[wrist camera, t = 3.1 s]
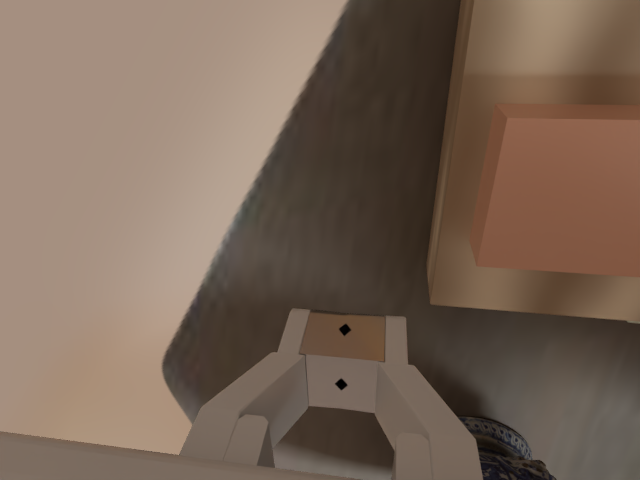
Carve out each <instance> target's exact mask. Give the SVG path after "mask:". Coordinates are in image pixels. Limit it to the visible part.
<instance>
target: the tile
mask: <svg viewBox="0 0 640 480" xmlns="http://www.w3.org/2000/svg"><path fill="white" fill-rule="evenodd" d="M469 241H470V245H471V248H472V252H473V256H474V259H475V263H476V266H478V267H493V268H508V269H523V270H538V271H552V272H567V273H582V274H597V275H612V276H627V277H640V105H582V104H495V106H494V112H493V117H492V122H491V127H490V133H489V138H488V143H487V149H486V154H485V159H484V165H483V170H482V175H481V181H480V186H479V191H478V197H477V202H476V207H475V212H474V218H473V223H472V228H471V234H470V239H469Z"/></svg>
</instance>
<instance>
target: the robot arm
mask: <svg viewBox="0 0 640 480" xmlns="http://www.w3.org/2000/svg"><path fill="white" fill-rule="evenodd" d="M308 406H317V407H329V408H341V409H348V410H355V411H363V412H370V413H375V416H376V418H377V420H378V422H379V424H380V425H381V427H382V429H383V431H384V433H385V435H386V437H387V438H388V440H389V442H390V444H391V446H392V448H393V449H394V451H395V453H394V461H393V470H392V478H391V480H483V476H482V470H481V465H480V460H479V454H478V449H477V443H476V439H475V438H474V437H473V436H472V434H471V433H470V432H469V431H468V430H467V428H466V427H465V426H464V425H463V424H462V422H461V421H460V420H459V419H458V418H457V416H456V415H455V414H454V413H453V412H452V410H451V409H450V408H449V407H448V406H447V404H446V403H445V402H444V401H443V400H442V398H441V397H440V396H439V395H438V393H437V392H436V391H435V390H434V389H433V387H432V386H431V385H430V384H429V383H428V381H427V380H426V379H425V378H424V377H423V375H422V374H421V373H420V372H419V371H418V369H417V368H416V367H415V366H414V365H408V350H407V329H406V318H405V317H403V316H381V315H367V314H353V313H341V312H331V311H321V310H312V309H311V310H308V309H298V308H292V310H291V311H290V313H289V316H288V320H287V323H286V326H285V329H284V332H283V335H282V339H281V342H280V345H279V348H278V351H277V352H271V353H270V354H269V355H267V356H266V357H265V358H263V359H262V360H261V361H260V362H258V363H257V364H256V365H254V366H253V367H252V368H251V369H249V370H248V371H247V372H245V373H244V374H243V375H242V376H240V377H239V378H238V379H236V380H235V381H234V382H233V383H231V384H230V385H229V386H227V387H226V388H225V389H224V390H222V391H221V392H220V393H218V394H217V395H216V396H215V397H213V398H212V399H211V400H209V401H208V402H207V403H206V404H204V405H203V406H202V407H201V408H200V410H199V412H198V415H197V417H196V419H195V421H194V423H193V426H192V428H191V430H190V432H189V434H188V436H187V439H186V441H185V443H184V445H183V447H182V450H181V452H180V454H179V455H173V454H167V453H159V452H152V451H144V450H136V449H129V448H121V447H114V446H106V445H99V444H91V443H84V442H76V441H68V440H61V439H54V438H46V437H39V436H31V435H23V434H16V433H8V432H1V431H0V480H361V479H354V478H346V477H339V476H331V475H324V474H316V473H308V472H301V471H293V470H286V469H278V468H275V465H274V458H273V451H272V449H273V448H274V447H275V446H276V445H277V443H278V442H279V441H280V440H281V439H282V438H283V437H284V435H285V434H286V433H287V432H288V431H289V430H290V428H291V427H292V426H293V425H294V424H295V423H296V421H297V420H298V419H299V418H300V417H301V416H302V415H303V413H304V412H305V411H306V410H307V409H308Z"/></svg>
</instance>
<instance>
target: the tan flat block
mask: <svg viewBox="0 0 640 480" xmlns="http://www.w3.org/2000/svg"><path fill="white" fill-rule="evenodd" d="M495 104H582V105H640V0H461V3H460V11H459V19H458V26H457V34H456V42H455V49H454V57H453V65H452V72H451V80H450V88H449V95H448V103H447V111H446V118H445V126H444V134H443V141H442V149H441V157H440V164H439V172H438V180H437V187H436V195H435V203H434V210H433V218H432V226H431V233H430V241H429V249H428V256H427V264H426V268H427V278H428V288H429V297H430V305H442V306H454V307H466V308H478V309H491V310H503V311H515V312H528V313H540V314H552V315H564V316H577V317H589V318H601V319H614V320H626V321H638V322H640V277H627V276H612V275H597V274H582V273H567V272H552V271H538V270H523V269H508V268H493V267H478V266H476V263H475V259H474V256H473V252H472V248H471V245H470V241H469V239H470V234H471V228H472V223H473V218H474V212H475V207H476V202H477V197H478V191H479V186H480V181H481V175H482V170H483V165H484V159H485V154H486V149H487V143H488V138H489V133H490V127H491V122H492V117H493V112H494V106H495Z"/></svg>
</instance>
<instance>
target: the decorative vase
mask: <svg viewBox="0 0 640 480" xmlns="http://www.w3.org/2000/svg"><path fill="white" fill-rule="evenodd" d="M457 418H458V419H459V420H460V421H461V422H462V424H463V425H464V426H465V427H466V428H467V430H468V431H469V432H470V433H471V434H472V436H473V437H474V438H475V439H476V443H477V449H478V454H479V460H480V465H481V470H482V476H483V480H556V478H555V477H554V476H552V475H550V473H549V472H548V470H547V469H546V465H545V464H544V463H543V462H542V461H540V460H532V454H531V450H530V448H529V446H528V444H527V442H526V441H525V440H524V438H523V437H522V436H520V435H519V434H517V433H516V432H514V431H513V430H511V429H509V428H508V427H506V426H504V425H502V424H499V423H497V422H494V421H490V420H485V419H482V418H478V417H463V416H460V417H457Z"/></svg>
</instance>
